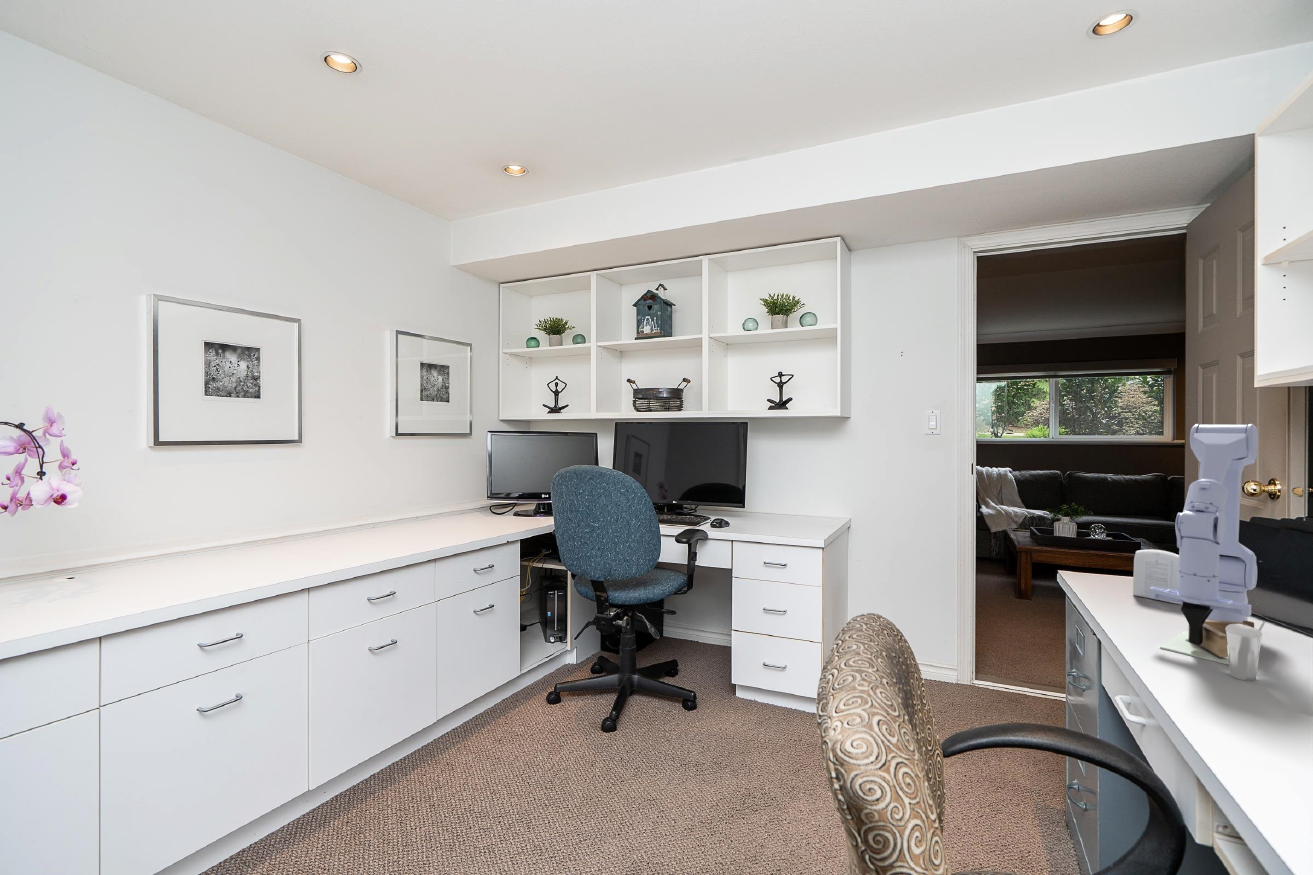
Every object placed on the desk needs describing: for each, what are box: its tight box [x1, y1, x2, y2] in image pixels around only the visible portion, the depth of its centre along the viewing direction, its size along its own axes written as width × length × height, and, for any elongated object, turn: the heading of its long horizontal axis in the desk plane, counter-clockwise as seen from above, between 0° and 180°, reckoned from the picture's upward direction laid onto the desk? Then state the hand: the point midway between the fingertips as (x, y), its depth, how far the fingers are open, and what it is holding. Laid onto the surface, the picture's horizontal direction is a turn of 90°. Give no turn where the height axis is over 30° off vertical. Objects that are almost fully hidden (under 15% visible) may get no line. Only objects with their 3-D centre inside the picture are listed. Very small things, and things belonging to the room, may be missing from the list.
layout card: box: [1159, 630, 1229, 666], centre depth 117 cm, size 16×11×1 cm
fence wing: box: [1200, 623, 1228, 657], centre depth 114 cm, size 8×1×4 cm, turn 165°
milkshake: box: [1225, 620, 1266, 682], centre depth 103 cm, size 4×5×10 cm
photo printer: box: [1132, 548, 1183, 605], centre depth 149 cm, size 10×4×12 cm, turn 35°
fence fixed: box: [1188, 620, 1255, 641], centre depth 118 cm, size 2×10×5 cm, turn 75°
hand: (1196, 643), depth 115 cm, fingers closed, pressing on fence wing
